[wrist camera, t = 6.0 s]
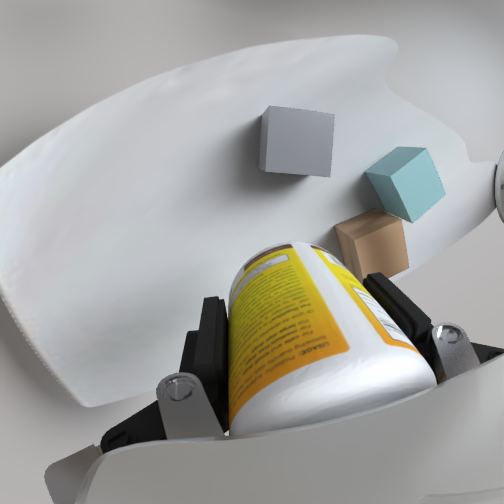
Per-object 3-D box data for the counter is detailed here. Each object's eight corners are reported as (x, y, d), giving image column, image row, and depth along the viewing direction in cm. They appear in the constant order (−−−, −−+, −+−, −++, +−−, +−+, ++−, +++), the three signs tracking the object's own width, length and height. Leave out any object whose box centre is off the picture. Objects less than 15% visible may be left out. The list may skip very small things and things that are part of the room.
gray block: (315, 120, 24) (334, 114, 19) (311, 172, 25) (329, 177, 21) (261, 114, 23) (269, 105, 19) (258, 168, 25) (265, 171, 20)
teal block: (397, 146, 25) (426, 147, 20) (417, 186, 27) (446, 194, 22) (364, 171, 26) (390, 176, 21) (386, 211, 27) (412, 223, 23)
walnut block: (375, 208, 27) (401, 219, 22) (384, 250, 29) (409, 267, 24) (333, 225, 27) (353, 240, 23) (345, 268, 29) (365, 289, 24)
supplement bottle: (222, 337, 14) (219, 548, 4) (237, 228, 12) (256, 486, 2) (327, 345, 14) (400, 519, 5) (359, 246, 12) (524, 407, 3)
